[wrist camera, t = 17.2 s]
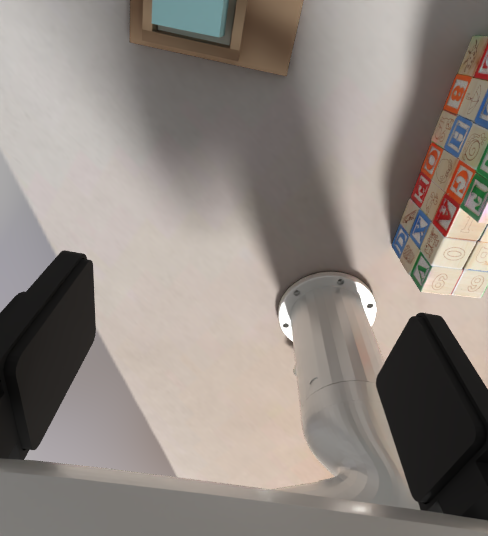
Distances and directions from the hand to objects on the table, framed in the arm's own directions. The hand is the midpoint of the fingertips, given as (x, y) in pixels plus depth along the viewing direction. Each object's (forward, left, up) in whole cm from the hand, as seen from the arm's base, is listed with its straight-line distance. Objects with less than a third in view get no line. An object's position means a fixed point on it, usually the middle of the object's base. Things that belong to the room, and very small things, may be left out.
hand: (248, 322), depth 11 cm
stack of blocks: (0, -21, -31) cm, 37 cm away
